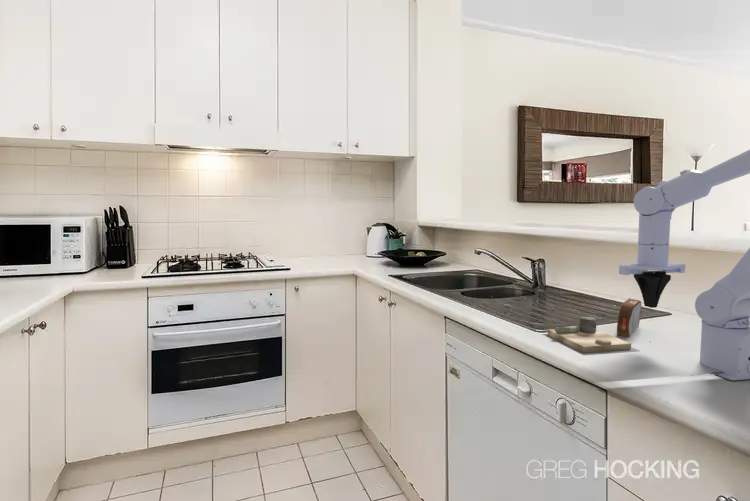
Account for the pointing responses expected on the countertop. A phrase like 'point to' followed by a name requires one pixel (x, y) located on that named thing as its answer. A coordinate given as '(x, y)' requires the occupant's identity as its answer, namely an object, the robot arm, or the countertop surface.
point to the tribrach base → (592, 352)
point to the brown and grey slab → (628, 317)
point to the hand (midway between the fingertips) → (650, 306)
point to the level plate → (588, 337)
